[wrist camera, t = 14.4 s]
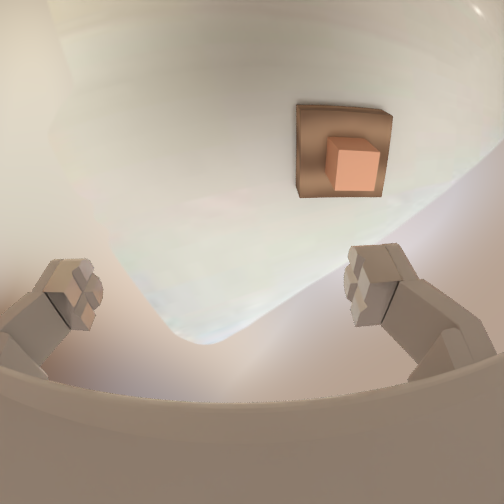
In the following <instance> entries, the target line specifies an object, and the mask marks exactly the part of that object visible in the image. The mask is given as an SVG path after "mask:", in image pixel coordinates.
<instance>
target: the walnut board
mask: <svg viewBox="0 0 504 504" xmlns="http://www.w3.org/2000/svg"><path fill="white" fill-rule="evenodd" d="M392 120H393V116H392V115H390V114H388V113H387V112H385V111H383V110H380V109H371V108H360V107H346V106H328V105H296V188H297V191H298V194H299V197H300V198H318V197H381V196H382V191H383V185H384V179H385V173H386V167H387V160H388V153H389V146H390V138H391V130H392ZM327 137H349V138H364V139H366V140H367V141H368V142H370V143H371V144H372V145H373V146H374V147H375V148H376V149H377V150H378V151H380V158H379V164H378V171H377V177H376V183H375V188H374V191H335V190H334V188H333V186H332V185H331V183H330V181H329V179H328V177H327V176H326V174H325V166H326V153H327Z"/></svg>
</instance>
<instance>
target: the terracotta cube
mask: <svg viewBox="0 0 504 504" xmlns="http://www.w3.org/2000/svg"><path fill="white" fill-rule="evenodd" d="M379 158H380V151H378V150H377V149H376V148H375V147H374V146H373V145H372V144H371V143H370V142H368V141H367V140H366V139H364V138H349V137H327V153H326V166H325V174H326V176H327V177H328V179H329V181H330V183H331V185H332V186H333V188H334V190H335V191H374V188H375V183H376V177H377V171H378V164H379Z"/></svg>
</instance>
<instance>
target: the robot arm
mask: <svg viewBox="0 0 504 504" xmlns="http://www.w3.org/2000/svg"><path fill="white" fill-rule="evenodd" d="M348 259H349V262H350V264H349V265H348V266H347V267H346V268H345V273H344V290H345V294H346V297H347V299H348V300H350V301H351V302H352V305H351V309H350V311H351V314H352V317H353V321H354V324H355V327H360V326H370V325H381V324H382V325H381V326H382V327H383V328H384V329H385V330H386V331H387V332H388V333H389V335H390V336H392V337H393V339H394V340H395V341H396V342H397V343H398V344H399V345H400V346H401V347H402V348H403V349H404V350H405V351H406V352H407V353H408V354H409V355H410V356H411V357H412V358H413V359H414V360H415V362H416V363H417V364H418V366H417V367H416V368H415V370H414V371H413V372H412V373H411V375H410V376H409V378H408V383H404V384H400V385H395V386H391V387H386V388H381V389H376V390H370V391H365V392H358V393H352V394H346V395H339V396H331V397H323V398H314V399H304V400H292V401H276V402H252V403H210V402H188V401H187V402H186V401H173V400H172V401H171V400H161V399H151V398H142V397H133V396H126V395H119V394H113V393H107V392H101V391H95V390H90V389H85V388H80V387H75V386H71V385H66V384H62V383H58V382H54V381H50V380H47V379H48V376H47V374H46V373H45V372H44V371H43V370H42V369H41V368H40V366H41V365H42V364H43V363H44V361H45V360H46V359H47V358H48V356H49V355H50V354H51V353H52V352H53V351H54V350H55V348H56V347H57V346H58V345H59V344H60V343H61V341H62V340H63V339H64V338H65V337H66V336H67V335H68V333H69V332H70V331H71V330H83V331H90V329H91V326H92V324H93V321H94V318H95V316H96V314H95V311H94V310H95V309H96V308H97V307H98V306H99V305H100V304H101V301H102V299H103V287H102V283H101V281H100V279H99V277H97V276H96V275H95V274H94V273H93V270H94V267H93V265H92V263H91V261H90V260H88V259H54V260H52V261H50V263H49V264H48V266H47V268H46V269H45V271H44V272H43V274H42V275H41V277H40V279H39V280H38V282H37V283H36V285H35V287H34V288H33V290H32V292H28V293H27V294H25V295H24V296H23V297H22V298H20V299H19V300H18V301H17V302H16V303H14V304H13V305H12V306H11V307H10V308H8V309H7V310H6V311H5V312H4V313H3V314H1V315H0V504H504V352H502V353H500V354H497V353H496V351H495V349H494V347H493V344H492V342H491V340H490V338H489V336H488V334H487V332H486V330H485V328H484V326H483V324H482V322H481V320H480V319H478V318H477V317H476V316H474V315H473V314H472V313H470V312H469V311H468V310H466V309H465V308H464V307H462V306H461V305H460V304H458V303H457V302H455V301H454V300H453V299H451V298H450V297H448V296H447V295H446V294H444V293H443V292H441V291H440V290H439V289H437V288H436V287H434V286H433V285H431V284H430V283H429V282H427V281H425V280H424V279H419V278H418V276H417V274H416V272H415V271H414V269H413V267H412V265H411V264H410V262H409V260H408V259H407V257H406V255H405V253H404V252H403V250H402V248H401V247H400V245H399V244H397V243H391V244H382V245H363V246H351V247H350V249H349V253H348Z"/></svg>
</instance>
